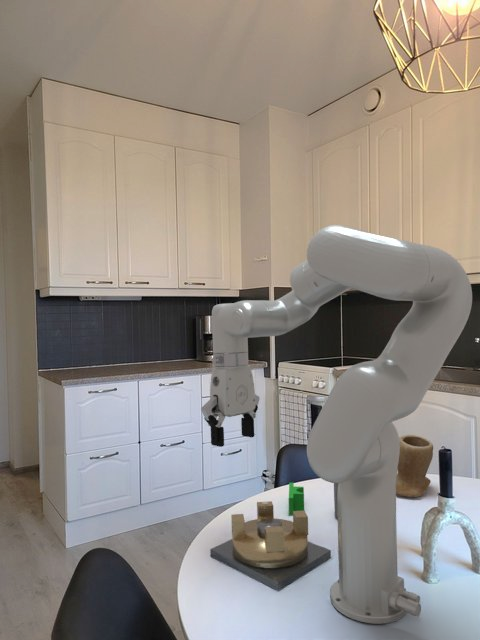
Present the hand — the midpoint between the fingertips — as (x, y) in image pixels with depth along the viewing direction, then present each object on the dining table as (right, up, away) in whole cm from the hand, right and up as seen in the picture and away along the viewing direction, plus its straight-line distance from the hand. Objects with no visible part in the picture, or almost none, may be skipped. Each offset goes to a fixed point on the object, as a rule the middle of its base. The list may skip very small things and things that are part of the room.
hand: (233, 440), depth 102 cm
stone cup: (+49, -21, +28) cm, 60 cm away
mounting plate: (+7, -22, -7) cm, 24 cm away
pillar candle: (+29, -22, +12) cm, 38 cm away
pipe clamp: (+16, -22, +19) cm, 33 cm away
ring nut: (+7, -20, -7) cm, 22 cm away
